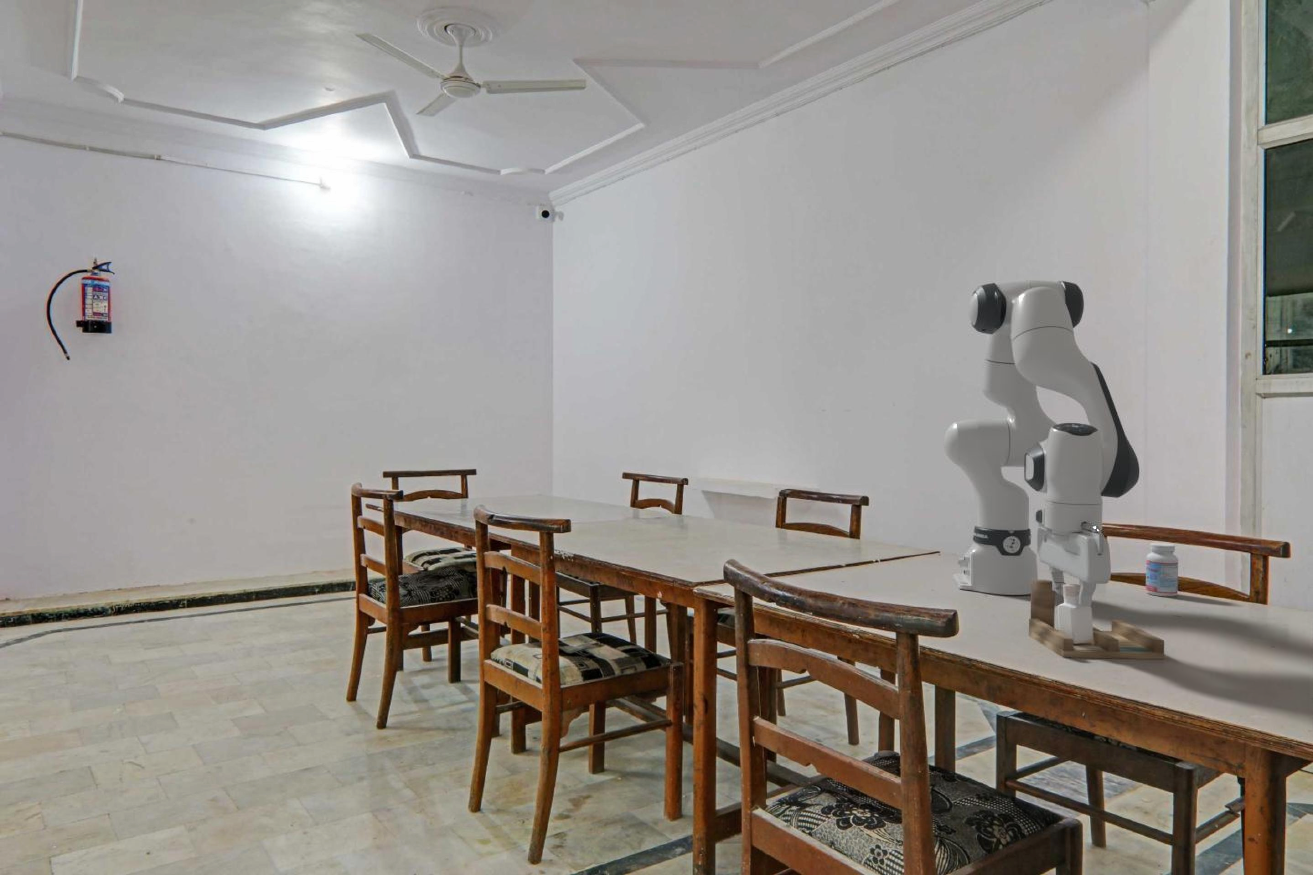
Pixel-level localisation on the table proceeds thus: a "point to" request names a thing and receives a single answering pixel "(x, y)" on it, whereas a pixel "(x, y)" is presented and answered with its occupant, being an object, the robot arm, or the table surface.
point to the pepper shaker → (1075, 616)
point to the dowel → (1043, 601)
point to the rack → (1101, 642)
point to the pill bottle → (1162, 570)
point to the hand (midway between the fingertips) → (1071, 598)
